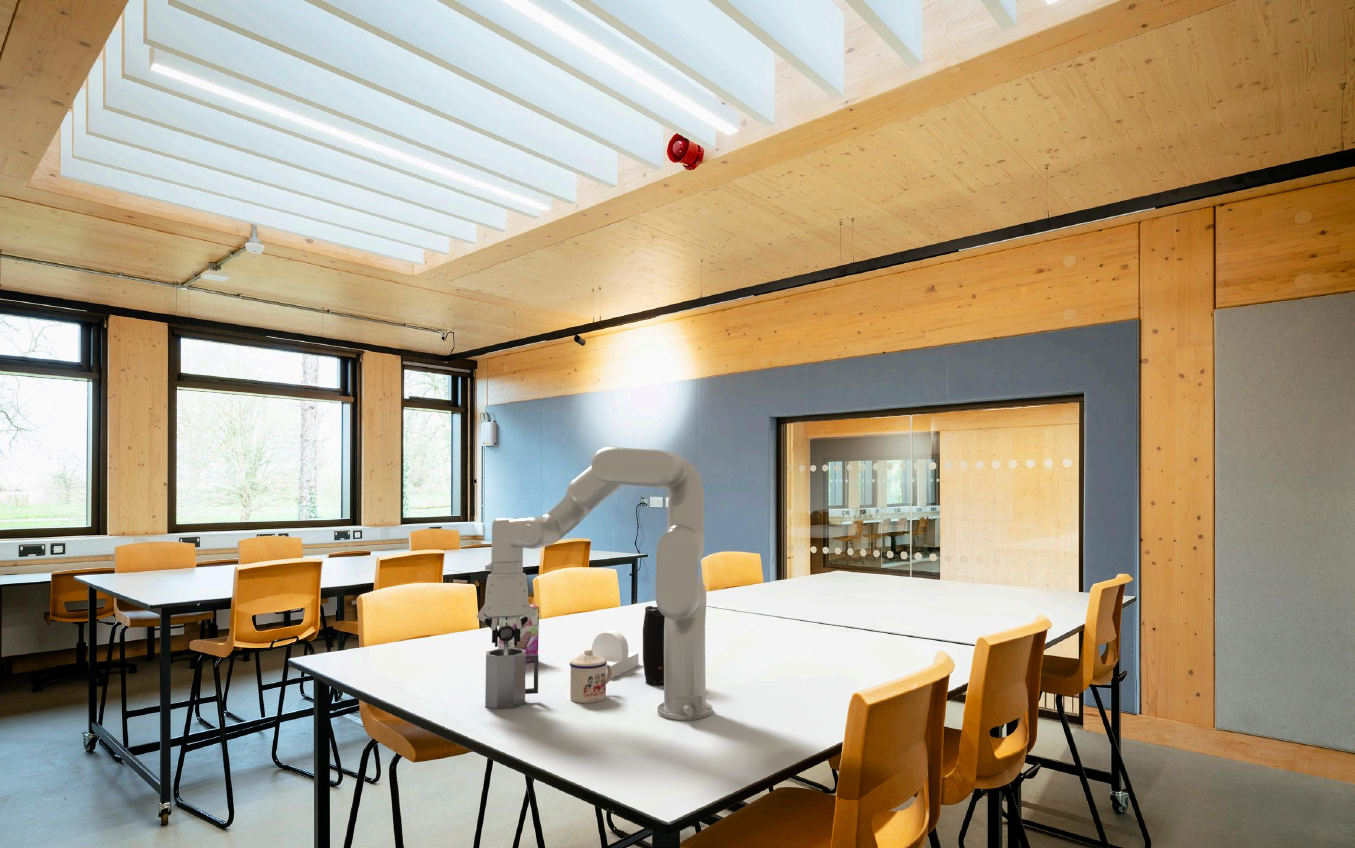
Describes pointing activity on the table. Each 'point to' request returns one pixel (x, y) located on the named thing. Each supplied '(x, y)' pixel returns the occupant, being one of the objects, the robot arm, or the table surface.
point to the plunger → (506, 636)
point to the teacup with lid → (589, 678)
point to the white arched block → (614, 652)
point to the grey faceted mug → (508, 678)
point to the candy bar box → (524, 633)
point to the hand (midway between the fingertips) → (506, 644)
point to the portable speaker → (653, 645)
